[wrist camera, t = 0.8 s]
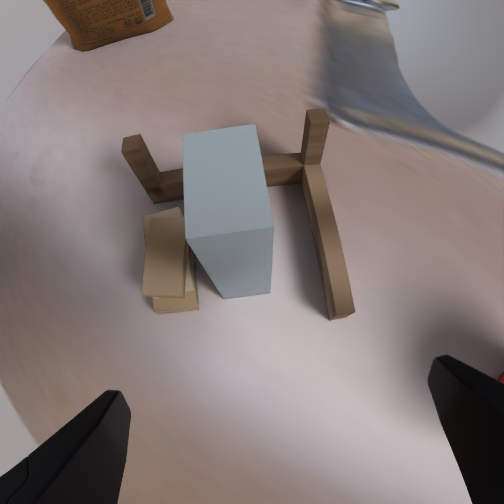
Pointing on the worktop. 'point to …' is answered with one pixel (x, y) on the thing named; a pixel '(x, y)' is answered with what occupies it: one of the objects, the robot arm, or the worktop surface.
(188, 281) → the offcut stack
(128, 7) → the pancake mix bag
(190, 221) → the grey rectangular block
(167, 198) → the rack
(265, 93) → the worktop surface
